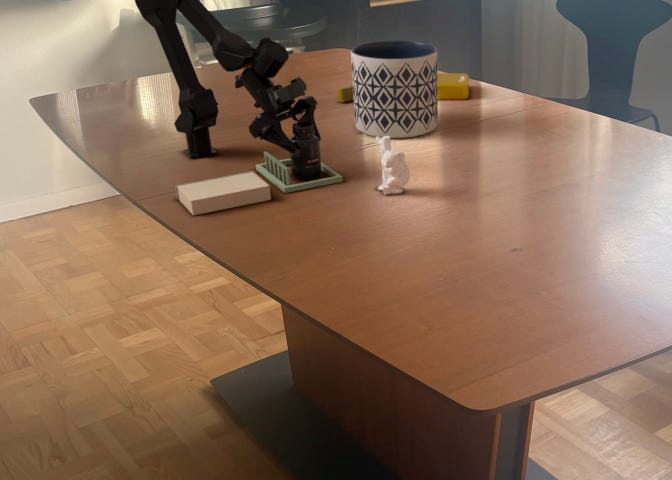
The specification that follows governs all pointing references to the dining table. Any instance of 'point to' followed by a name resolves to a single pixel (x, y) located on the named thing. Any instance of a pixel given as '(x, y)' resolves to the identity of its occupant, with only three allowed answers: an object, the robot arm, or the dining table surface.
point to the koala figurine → (392, 168)
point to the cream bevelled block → (223, 192)
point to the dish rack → (277, 164)
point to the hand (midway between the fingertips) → (307, 146)
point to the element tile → (453, 86)
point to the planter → (395, 88)
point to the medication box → (345, 93)
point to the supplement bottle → (305, 152)
